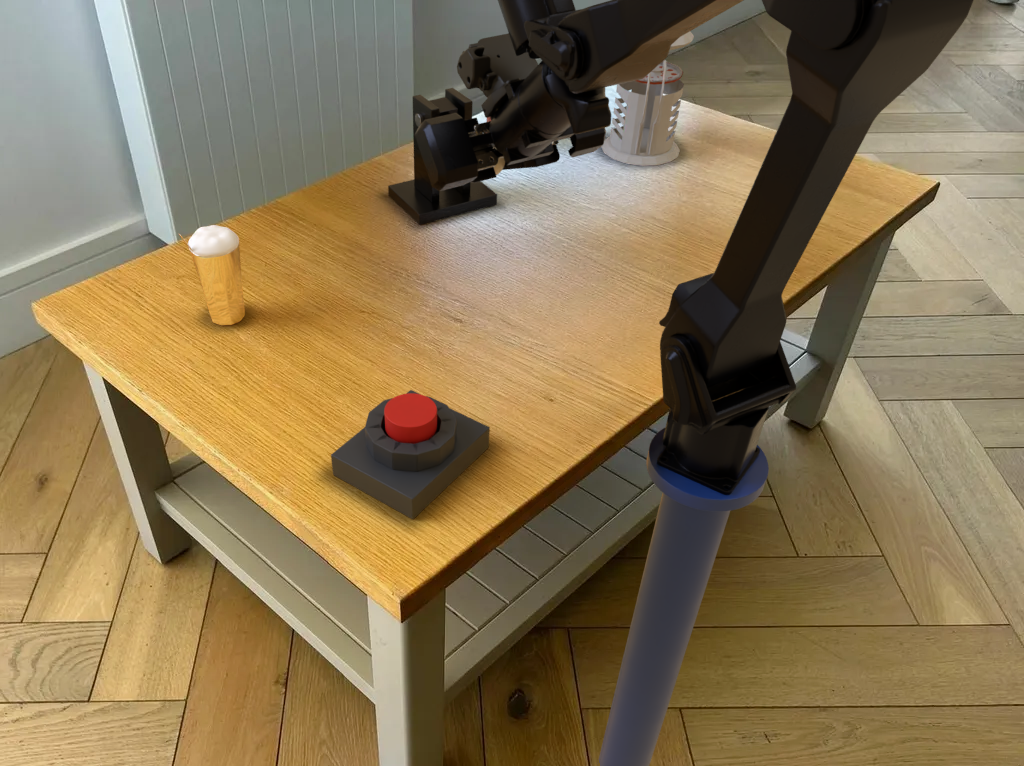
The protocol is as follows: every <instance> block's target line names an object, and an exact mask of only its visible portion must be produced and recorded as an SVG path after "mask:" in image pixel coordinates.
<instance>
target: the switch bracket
mask: <svg viewBox="0 0 1024 766" xmlns="http://www.w3.org/2000/svg"><path fill="white" fill-rule="evenodd" d="M444 97H446V98H447V99H448V100H449V101H450V102H451V103H453V104H454V105H455V106H456V107H457V108H458V115H460V116H461V117H462V118H463V120H467V119H472V118H473V102H474V101H473V100H472V99H470V98H469V97H467V96H466V95H464V94H463V93H461V92H460V91H459V90H457V89H455V88H454V87H450V88H449V87H448V88H446V89H444ZM435 117H439V108H438V107H437V106H435V105H434V104H433V103H431V102H430V99H427V98H426V97H424V96H423V95H422V94H417V95H412V132H413V133H412V134H413V137H412V138H413V141H412V142H413V174H414V175H413V179H410V180H406V181H402V182H398V183H394V184H389V185H387V192H388V197H389V198H390V199H391V200H392V201H393V202H395V204H397V205H398V206H399V207H400V208H401V209H402V210H403V211H404V212H405V213H406V214H407V215H408V216H409V217H410V218H411V219H413V220H414V221H415V222H416V224H418V225H419V226H422V225H425V224H430V223H433V222H437V221H441V220H444V219H445V220H446V219H448V218H452V217H455V216H459V215H463V214H467V213H470V212H474V211H479V210H483V209H485V208H490V207H493V206H497V204H498V194H497V193H496V192H494V190H492V189H491V188H490V187H489V186H488V185H486V184H484V183H483V181H480V182H476V183H471V182H469V183H467V184H465V185H462V186H458V187H454V188H450V189H446V190H442V191H438V190H437V189H435V188H433V187H432V185H431V182H430V179H429V176H428V173H427V170H426V167H425V164H424V161H423V158H422V155H421V152H420V150H419V147H418V144H417V141H416V138H415V133H416V131H417V129H418V127H419V126H420V125H421V124H422V122H423V121H424V120H426V119H431V118H435Z"/></svg>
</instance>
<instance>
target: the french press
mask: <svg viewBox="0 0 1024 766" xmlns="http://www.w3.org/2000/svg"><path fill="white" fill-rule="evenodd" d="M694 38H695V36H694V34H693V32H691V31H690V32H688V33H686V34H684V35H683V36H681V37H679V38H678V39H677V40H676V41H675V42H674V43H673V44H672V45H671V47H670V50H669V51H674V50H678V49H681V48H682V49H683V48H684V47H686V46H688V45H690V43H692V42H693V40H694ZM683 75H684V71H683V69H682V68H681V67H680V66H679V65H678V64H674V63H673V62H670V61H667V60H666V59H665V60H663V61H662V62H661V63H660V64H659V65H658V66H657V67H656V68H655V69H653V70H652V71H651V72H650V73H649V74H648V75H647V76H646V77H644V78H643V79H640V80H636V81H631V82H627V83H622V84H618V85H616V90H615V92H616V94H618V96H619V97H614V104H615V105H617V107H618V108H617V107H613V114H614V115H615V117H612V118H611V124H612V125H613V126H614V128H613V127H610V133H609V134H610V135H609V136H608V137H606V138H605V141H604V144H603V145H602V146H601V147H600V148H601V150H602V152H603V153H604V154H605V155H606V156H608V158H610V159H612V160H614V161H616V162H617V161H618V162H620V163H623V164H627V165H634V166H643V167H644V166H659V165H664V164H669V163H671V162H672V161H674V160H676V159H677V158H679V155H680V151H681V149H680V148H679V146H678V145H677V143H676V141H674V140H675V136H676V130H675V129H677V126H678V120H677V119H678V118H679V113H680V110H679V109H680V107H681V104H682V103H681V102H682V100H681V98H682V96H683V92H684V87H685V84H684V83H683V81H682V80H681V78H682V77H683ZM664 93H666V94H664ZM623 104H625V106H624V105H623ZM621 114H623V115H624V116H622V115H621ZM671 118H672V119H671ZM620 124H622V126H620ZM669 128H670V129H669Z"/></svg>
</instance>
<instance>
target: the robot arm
mask: <svg viewBox="0 0 1024 766" xmlns="http://www.w3.org/2000/svg"><path fill="white" fill-rule="evenodd" d="M743 1H745V0H607V1H603V2H600V3H597V4H593V5H590V6H587V7H584V8H580V9H576V7H575V3H574V0H497V2H498V5H499V8H500V11H501V14H502V18H503V20H504V23H505V26H506V29H507V32H508V33H503V34H498V35H492V36H488V37H482V38H480V39H479V40H477V42H474V43H471V44H469V45H468V48H466V49H465V50H463V51H462V52H461V54H460V55H459V58H458V60H457V64H456V70H457V74H458V76H459V78H460V79H461V81H462V83H463V85H464V86H465V88H466V89H467V90H472V89H478V90H480V92H482V94H483V95H484V96H485V97H486V99H485V100H484V101H483V102H482V104H481V109H482V111H483V115H484V118H486V119H487V117H490V119H491V121H489V122H487V121H485V122H480V123H479V121H478V118H477V117H472V119H467V120H463V118H462V117H461V116H460V115H458V114H457V113H453V114H449V115H444V116H440V117H435V118H431V119H426V120H424V121H423V122H422V124H421V125H420V126H419V127H418V129H417V131H416V133H415V138H416V141H417V144H418V147H419V150H420V152H421V155H422V158H423V161H424V164H425V167H426V170H427V173H428V176H429V179H430V182H431V185H432V187H433V188H435V189H437V190H438V191H442V190H446V189H450V188H454V187H458V186H462V185H465V184H467V183H469V182H471V183H476V182H480V181H481V182H483V181H487V180H491V179H495V178H497V176H498V175H496V173H495V170H494V167H495V166H496V165H497V164H498V159H499V158H502V157H504V160H505V165H504V168H503V169H502V171H506V170H518V169H532V168H538V167H543V166H546V165H551V164H554V163H557V162H558V161H559V160H560V158H561V155H560V152H559V149H558V146H557V145H558V144H559V141H562V140H567V139H569V140H570V143H571V147H570V148H569V149H568V150H567V152H568V155H569V157H571V158H576V157H581V156H584V155H588V154H592V153H594V152H596V151H597V150H598V149H601V148H602V147H601V146H602V145H603V144H604V141H605V139H606V135H607V130H606V128H608V127H610V126H611V124H612V111H611V107H610V99H609V97H608V96H606V88H608V87H613V86H617V85H618V84H622V83H627V82H631V81H636V80H640V79H643V78H644V77H646V76H647V75H648V74H649V73H650V72H651V71H652V70H653V69H655V68H656V67H657V66H658V65H659V64H660V63H661V62H662V61H664V60H666V59H667V57H668V56H669V54H670V51H671V50H670V47H671V45H672V44H673V43H674V42H675V41H676V40H677V39H678V38H679V37H681V36H683V35H684V34H686V33H688V32H691V31H694V30H695V29H696V28H698V27H700V26H703V24H705V23H708V22H709V21H710V20H712V19H714V18H716V17H717V16H719V15H721V14H723V13H724V12H727V11H729V10H730V9H732V8H733V7H735V6H736V5H738V4H740V3H742V2H743ZM761 2H762V4H763V7H764V9H765V12H766V13H767V15H768V16H769V17H771V18H772V19H774V20H775V21H776V22H777V23H780V24H781V25H782V26H784V27H785V28H786V29H788V30H790V33H789V38H788V42H787V46H786V49H785V55H786V62H787V68H788V74H789V80H790V87H791V92H792V93H791V96H790V99H789V102H788V105H787V107H786V109H785V111H784V114H783V116H782V118H781V120H780V123H779V125H778V127H777V129H776V132H775V134H774V136H773V138H772V140H771V143H770V145H769V147H768V149H767V152H766V154H765V156H764V159H763V161H762V163H761V166H760V168H759V170H758V172H757V175H756V177H755V180H754V181H753V184H752V186H751V188H750V191H749V193H748V195H747V197H746V199H745V202H744V204H743V206H742V209H741V211H740V213H739V215H738V218H737V220H736V222H735V225H734V227H733V229H732V232H731V234H730V236H729V238H728V240H727V243H726V245H725V248H724V250H723V252H722V254H721V256H720V258H719V261H718V262H717V265H716V267H715V270H714V272H712V273H708V274H705V275H703V276H699V277H696V278H694V279H690V280H687V281H683V282H681V283H678V284H677V286H676V288H675V289H674V291H673V292H672V294H671V298H670V303H669V306H668V309H667V312H666V314H665V315H664V317H662V318H661V319H660V320H659V321H658V324H659V326H660V327H663V330H662V333H661V336H660V341H659V355H660V356H659V357H660V358H659V359H660V371H661V386H662V387H661V388H662V400H663V403H664V404H665V405H666V406H667V407H668V408H669V411H668V414H667V418H666V423H665V427H664V428H665V432H664V436H663V441H662V443H663V445H664V446H666V448H665V449H664V451H663V452H662V453H661V454H660V455H659V457H658V459H657V464H658V465H659V466H661V467H663V468H666V469H668V470H670V471H672V472H675V473H677V474H679V475H681V476H683V477H686V478H688V479H690V480H692V481H694V482H697V483H699V484H701V485H703V486H705V487H708V488H710V489H712V490H714V491H716V492H719V493H721V494H723V495H730V494H732V492H733V491H734V490H735V488H736V487H737V485H738V484H739V483H740V481H741V480H742V478H743V477H744V476H745V474H746V473H747V471H748V470H749V469H750V467H751V466H752V465H753V463H754V462H755V460H756V459H757V458H758V456H759V453H760V449H759V448H757V447H756V446H757V445H758V444H759V440H760V438H761V437H760V436H761V434H762V430H763V427H764V425H765V422H766V418H767V416H768V412H769V410H770V407H772V406H775V405H777V404H778V405H781V404H783V403H785V402H786V401H788V399H789V398H790V397H791V396H793V394H794V393H795V392H796V390H797V385H796V382H795V379H794V376H793V373H792V371H791V368H790V365H789V362H788V359H787V357H786V354H785V351H784V348H783V345H782V341H781V340H782V337H783V334H784V331H785V328H786V325H787V318H788V317H787V314H786V310H785V304H784V300H783V296H782V295H783V293H784V290H785V288H786V286H787V285H788V283H789V281H790V279H791V277H792V275H793V273H794V271H795V269H796V267H797V266H798V264H799V262H800V260H801V258H802V256H803V254H804V252H805V250H806V249H807V247H808V246H809V243H810V242H811V240H812V237H813V235H814V234H815V232H816V230H817V228H818V226H819V224H820V222H821V221H822V219H823V217H824V215H825V213H826V211H827V209H828V207H829V205H830V204H831V201H832V199H833V198H834V197H835V194H836V192H837V190H838V188H839V187H840V185H841V182H843V179H844V177H845V176H846V174H847V171H848V169H849V167H850V166H851V164H852V162H853V161H854V158H855V157H856V154H857V153H858V151H859V149H860V148H861V145H862V143H863V142H864V140H865V137H866V136H867V134H868V132H869V130H870V128H871V127H872V124H873V123H874V121H875V120H876V118H877V117H878V116H879V115H880V113H881V112H882V111H883V110H885V109H886V108H887V107H888V106H889V105H890V104H892V102H893V101H894V100H896V99H897V98H898V97H899V96H901V94H902V93H903V92H905V91H906V90H907V89H908V88H909V87H910V86H911V85H913V84H914V83H915V82H916V81H917V80H918V79H919V78H921V76H922V75H924V74H925V73H926V72H927V70H928V69H929V68H930V67H931V65H933V63H934V61H935V60H936V59H937V58H938V56H939V55H940V54H941V53H942V51H943V50H944V49H945V48H946V46H947V45H948V43H949V42H950V41H951V40H952V38H953V37H954V36H955V34H956V33H957V32H958V30H959V29H960V28H961V26H962V25H963V24H964V22H965V21H966V19H967V17H968V15H969V13H970V10H971V8H972V6H973V3H974V0H761ZM539 59H540V60H541V61H540V62H539V63H538V60H539ZM486 132H487V133H486ZM494 147H496V148H494ZM726 489H728V490H726Z"/></svg>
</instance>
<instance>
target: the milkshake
mask: <svg viewBox="0 0 1024 766" xmlns="http://www.w3.org/2000/svg"><path fill="white" fill-rule="evenodd" d="M177 234H178V235H179V237H180V238H181V240H182V241H183V242H184V243H185V244H186V246H187V247H188V249H189V253H190V256H191V259H192V262H193V265H194V267H195V270H196V273H197V276H198V278H199V282H200V285H201V289H202V293H203V296H204V299H205V302H206V305H207V309H208V312H209V316H210V319H211V320H212V323H213V324H217V325H219V326H232V325H234V324H238V323H239V322H241V321H242V320H243V318H244V317H245V315H246V311H245V302H244V301H245V298H244V289H243V281H242V280H243V278H242V267H241V249H240V238H239V236H238V234H237V233H236V232H234V231H233V230H232V229H230V228H229V227H226V226H222V225H221V226H220V225H217V224H210V225H207V226H201V227H198V228H197V229H196V230H195V232H194V233H193V234H192V235H191V236H190V238H189V239H188V241H186V240H185V238H184V237H183V236H182V234H180V233H177Z"/></svg>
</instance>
